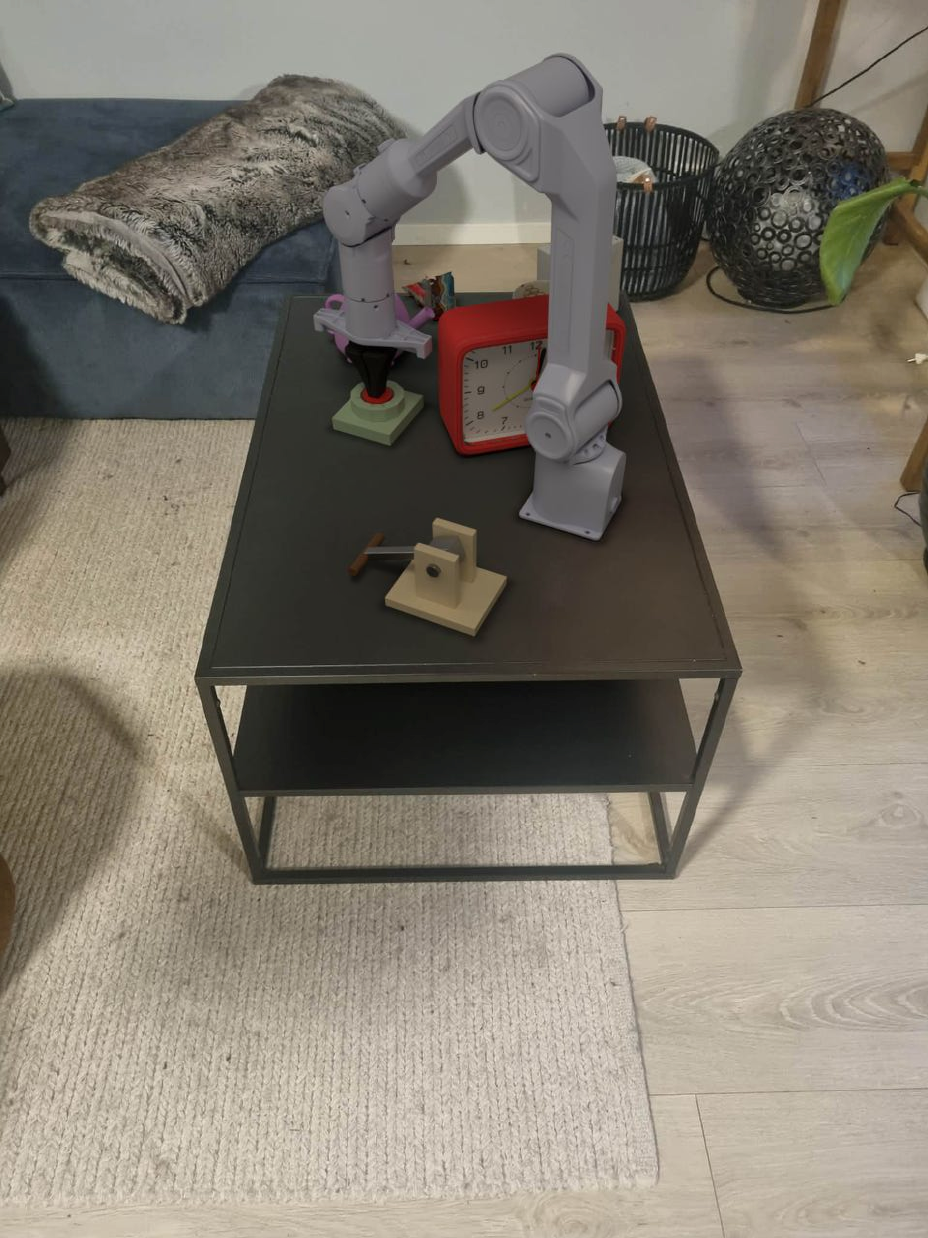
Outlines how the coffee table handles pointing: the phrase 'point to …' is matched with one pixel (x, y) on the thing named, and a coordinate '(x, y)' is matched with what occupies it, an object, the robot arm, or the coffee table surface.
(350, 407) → the button box
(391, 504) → the coffee table surface
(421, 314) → the teapot
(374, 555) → the lever
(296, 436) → the coffee table surface
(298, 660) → the coffee table surface
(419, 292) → the multicoloured jagged piece
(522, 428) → the alarm clock
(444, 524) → the bracket
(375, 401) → the button
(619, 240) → the cosmetics box
